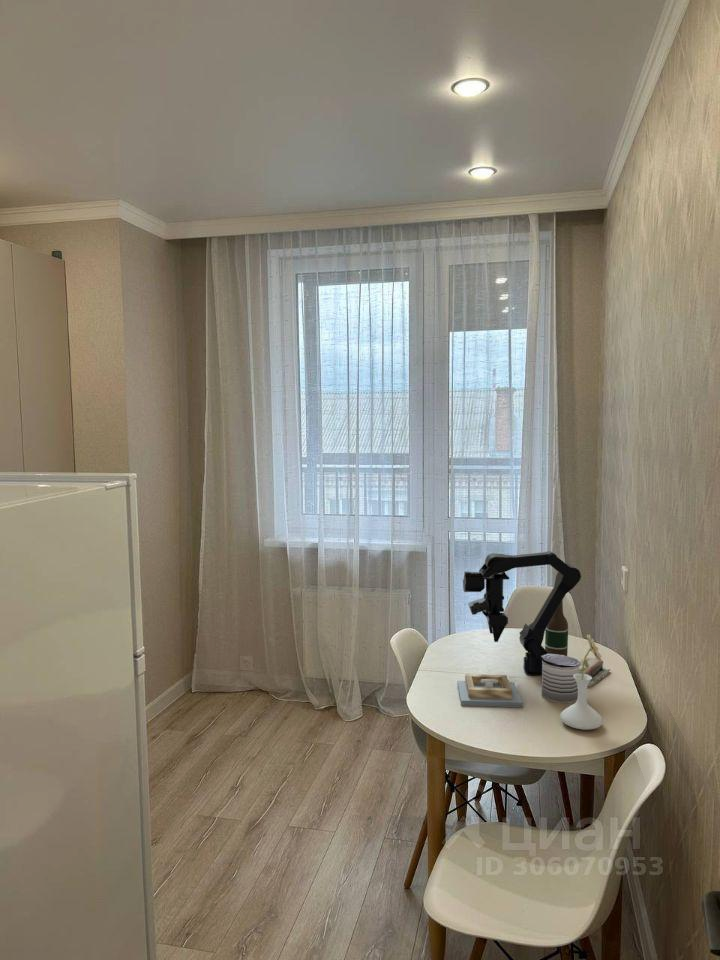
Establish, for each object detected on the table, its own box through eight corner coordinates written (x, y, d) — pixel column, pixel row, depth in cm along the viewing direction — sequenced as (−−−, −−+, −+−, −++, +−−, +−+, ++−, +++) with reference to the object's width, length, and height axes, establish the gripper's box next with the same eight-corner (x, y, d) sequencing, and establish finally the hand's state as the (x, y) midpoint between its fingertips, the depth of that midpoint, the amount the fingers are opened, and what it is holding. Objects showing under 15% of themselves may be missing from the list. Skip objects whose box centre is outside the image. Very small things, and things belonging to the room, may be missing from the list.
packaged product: (591, 674, 221) (561, 667, 228) (590, 688, 222) (560, 681, 228) (610, 659, 235) (582, 653, 242) (610, 673, 236) (581, 666, 242)
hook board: (514, 687, 222) (514, 669, 221) (522, 707, 206) (522, 689, 205) (457, 685, 223) (457, 668, 223) (461, 705, 207) (461, 687, 207)
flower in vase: (592, 737, 186) (595, 646, 184) (552, 725, 194) (555, 637, 192) (611, 722, 196) (614, 635, 194) (572, 711, 203) (575, 627, 201)
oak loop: (506, 682, 222) (506, 675, 221) (512, 698, 209) (512, 690, 208) (465, 681, 222) (465, 673, 222) (468, 697, 210) (468, 689, 209)
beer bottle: (555, 653, 255) (557, 588, 253) (571, 659, 248) (574, 593, 246) (540, 656, 251) (541, 591, 249) (556, 663, 244) (558, 596, 242)
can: (535, 689, 220) (536, 652, 219) (570, 688, 221) (571, 651, 220) (548, 703, 209) (549, 664, 208) (585, 702, 210) (586, 663, 209)
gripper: (466, 585, 242) (466, 629, 244) (473, 598, 224) (473, 646, 225) (499, 585, 242) (498, 629, 243) (508, 599, 223) (507, 646, 225)
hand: (493, 637), depth 234 cm, fingers open, 9 cm apart
